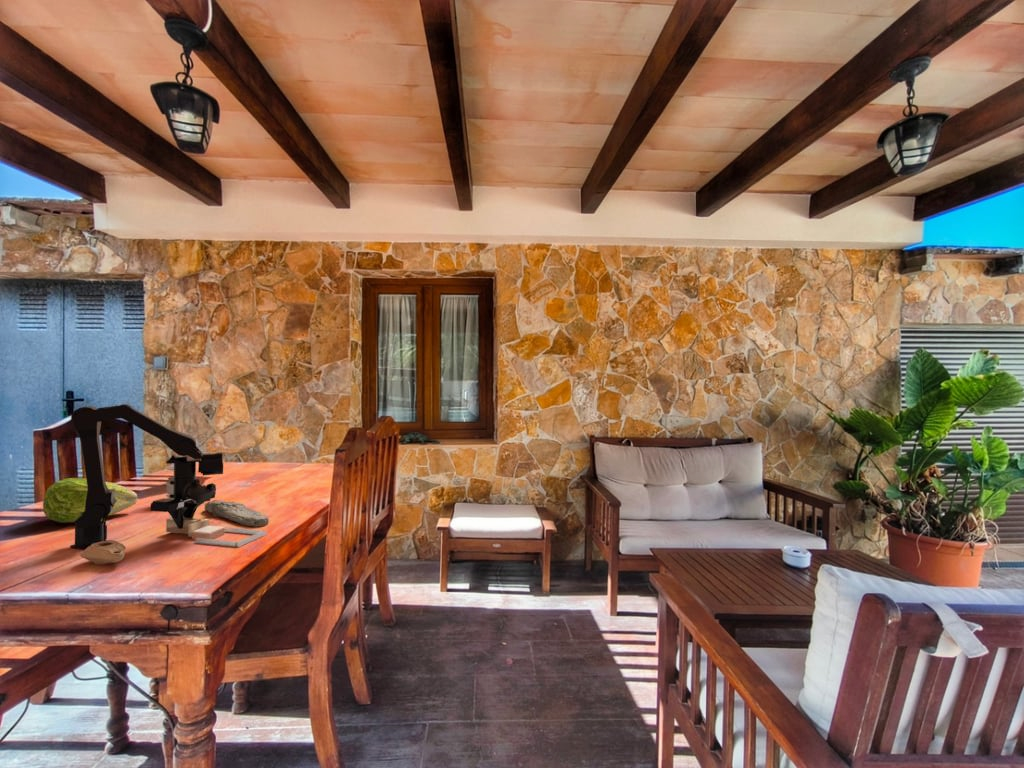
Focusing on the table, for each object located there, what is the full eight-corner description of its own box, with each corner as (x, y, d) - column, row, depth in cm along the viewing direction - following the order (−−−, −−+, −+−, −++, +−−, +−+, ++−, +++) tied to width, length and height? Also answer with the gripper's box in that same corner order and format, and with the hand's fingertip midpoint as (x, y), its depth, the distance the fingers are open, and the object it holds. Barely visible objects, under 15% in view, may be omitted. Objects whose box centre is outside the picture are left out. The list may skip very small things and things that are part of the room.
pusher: (191, 536, 150) (191, 523, 150) (159, 534, 152) (159, 521, 152) (209, 530, 157) (209, 517, 157) (179, 527, 159) (179, 514, 159)
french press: (195, 499, 197) (196, 435, 197) (191, 506, 187) (193, 439, 187) (165, 501, 193) (166, 436, 193) (160, 508, 183) (161, 439, 182)
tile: (209, 541, 149) (209, 532, 149) (192, 539, 150) (192, 531, 150) (224, 535, 155) (224, 527, 155) (207, 533, 156) (207, 525, 156)
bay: (238, 547, 144) (238, 543, 144) (194, 542, 147) (194, 538, 147) (266, 534, 156) (266, 530, 156) (225, 530, 159) (225, 527, 159)
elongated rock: (247, 534, 160) (276, 529, 169) (248, 518, 160) (278, 513, 169) (195, 510, 180) (224, 506, 188) (197, 495, 180) (225, 492, 188)
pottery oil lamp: (100, 572, 123) (84, 547, 123) (88, 576, 131) (74, 553, 130) (139, 550, 130) (124, 527, 130) (126, 555, 137) (112, 533, 137)
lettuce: (139, 521, 170) (144, 477, 172) (40, 525, 153) (49, 477, 155) (130, 518, 182) (136, 478, 184) (38, 522, 165) (46, 477, 167)
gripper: (182, 484, 144) (181, 538, 144) (230, 472, 162) (229, 520, 162) (149, 482, 146) (148, 535, 146) (200, 470, 164) (199, 518, 164)
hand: (184, 527), depth 155 cm, fingers closed on pusher, 2 cm apart
